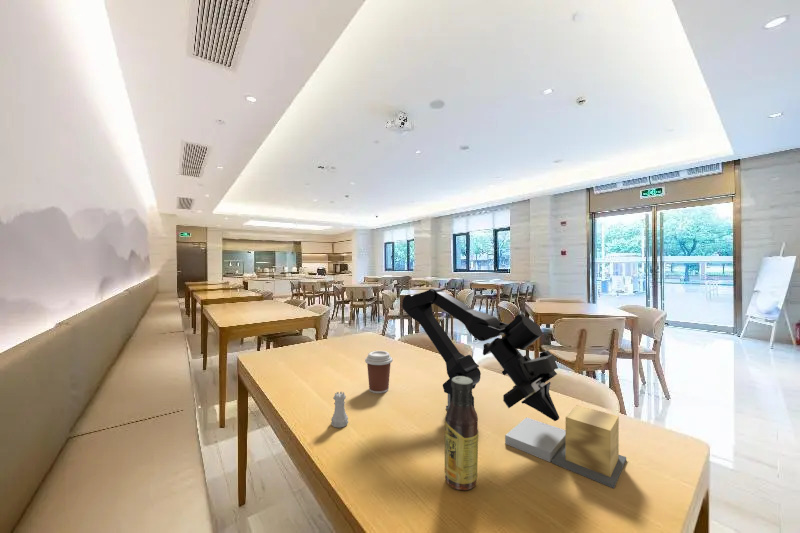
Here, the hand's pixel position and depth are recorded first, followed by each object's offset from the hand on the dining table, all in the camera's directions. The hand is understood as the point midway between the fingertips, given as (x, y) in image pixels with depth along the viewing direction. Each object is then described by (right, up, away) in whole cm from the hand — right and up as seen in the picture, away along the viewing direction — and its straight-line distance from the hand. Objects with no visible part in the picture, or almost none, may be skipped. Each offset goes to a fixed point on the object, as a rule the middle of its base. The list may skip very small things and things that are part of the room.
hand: (557, 419), depth 72 cm
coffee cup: (-42, -7, +35) cm, 55 cm away
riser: (-3, -7, +3) cm, 8 cm away
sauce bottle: (-24, -7, -11) cm, 27 cm away
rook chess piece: (-51, -7, +12) cm, 53 cm away
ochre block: (+5, -6, -5) cm, 9 cm away
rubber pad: (+4, -7, -4) cm, 9 cm away
